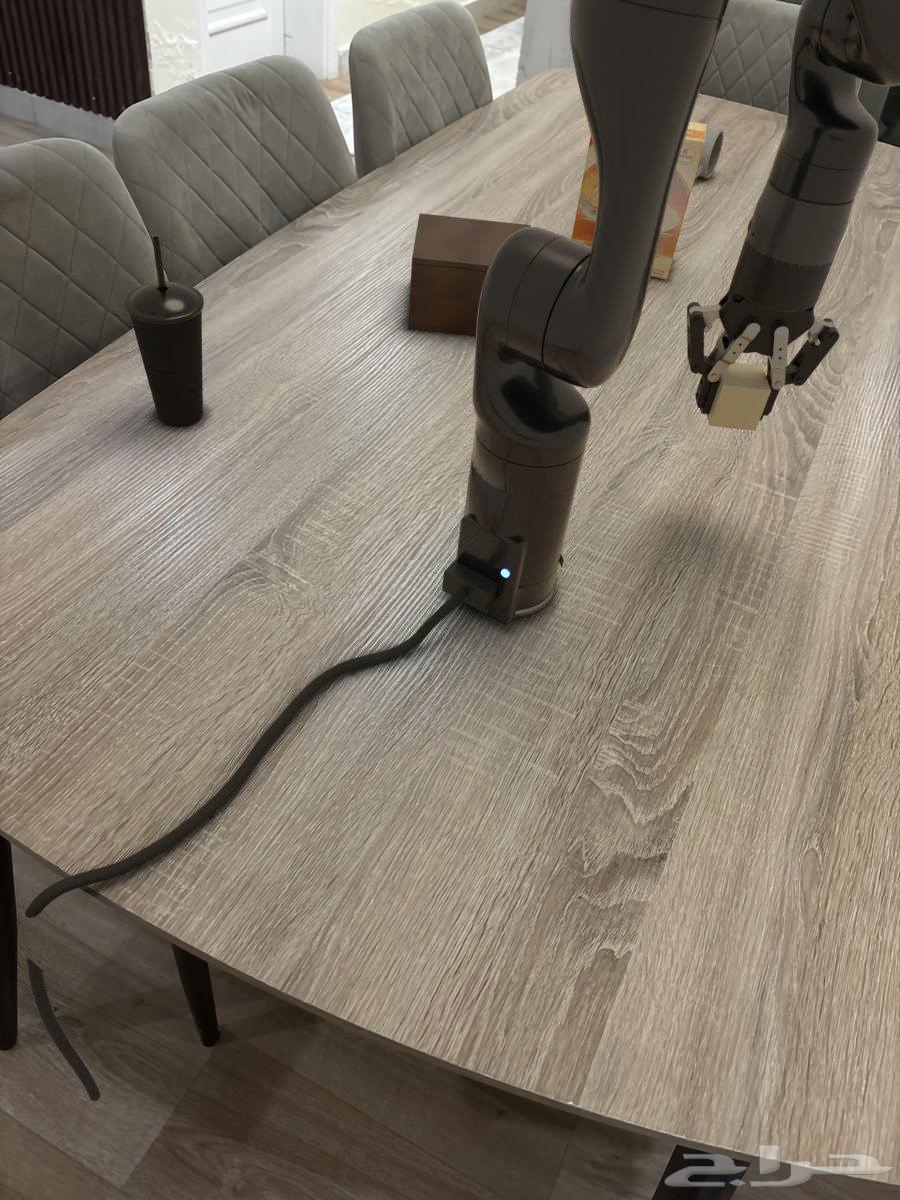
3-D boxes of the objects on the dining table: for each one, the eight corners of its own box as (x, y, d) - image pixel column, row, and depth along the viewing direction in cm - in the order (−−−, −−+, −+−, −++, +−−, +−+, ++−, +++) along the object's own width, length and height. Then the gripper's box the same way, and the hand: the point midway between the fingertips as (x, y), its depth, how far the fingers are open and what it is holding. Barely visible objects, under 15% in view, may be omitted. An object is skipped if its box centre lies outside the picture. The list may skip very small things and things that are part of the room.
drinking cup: (146, 438, 100) (114, 258, 86) (142, 397, 105) (112, 221, 91) (219, 431, 102) (200, 255, 87) (212, 392, 107) (193, 219, 92)
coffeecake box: (566, 261, 137) (592, 120, 123) (573, 241, 142) (599, 103, 128) (667, 281, 136) (705, 140, 122) (671, 260, 141) (708, 122, 127)
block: (747, 405, 93) (762, 365, 90) (755, 431, 90) (771, 390, 87) (702, 399, 93) (716, 359, 90) (709, 425, 90) (723, 385, 86)
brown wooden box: (520, 293, 129) (530, 224, 123) (521, 340, 121) (532, 269, 114) (414, 282, 129) (419, 212, 122) (407, 328, 120) (412, 257, 113)
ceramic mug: (672, 158, 169) (683, 113, 164) (716, 170, 167) (728, 125, 162) (653, 178, 163) (664, 131, 157) (698, 190, 160) (711, 144, 155)
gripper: (714, 251, 76) (660, 426, 88) (887, 271, 77) (810, 444, 89) (702, 213, 82) (653, 383, 94) (863, 233, 82) (794, 400, 94)
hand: (730, 412), depth 91 cm, fingers closed on block, 4 cm apart
